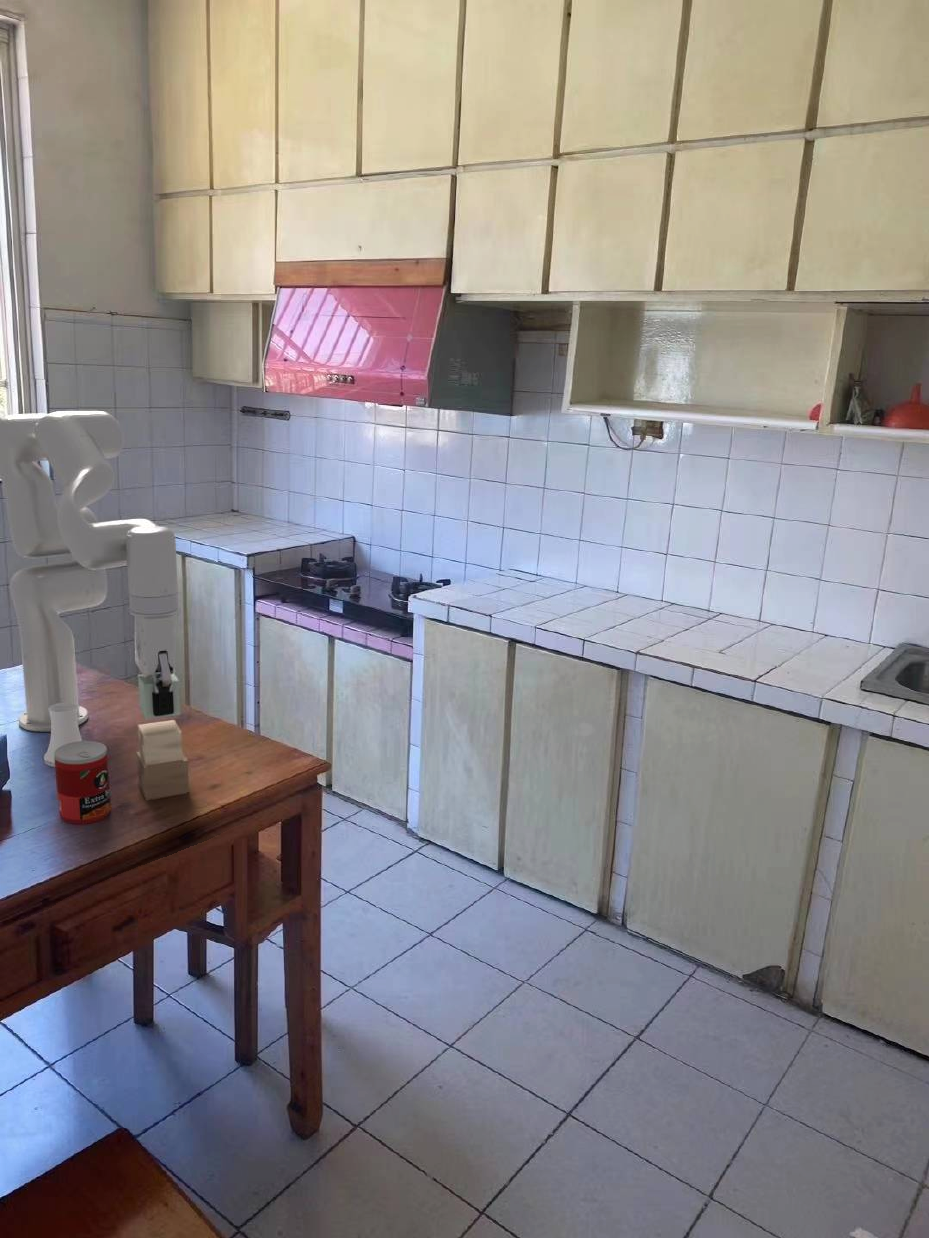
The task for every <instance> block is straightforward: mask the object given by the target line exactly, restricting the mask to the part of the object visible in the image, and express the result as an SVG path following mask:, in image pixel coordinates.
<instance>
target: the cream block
mask: <svg viewBox="0 0 929 1238" xmlns="http://www.w3.org/2000/svg"><path fill="white" fill-rule="evenodd" d="M182 754H183V760H179V761H173V762H166V763H160V764H153V765H147V766H146V765H145V763H144V761H143V759H142V757H141V755H140V752H139V751H136V767H137V783H138V786H139V788H140V790H141V792H142V794H143V796H144V799H145V798H146V799H145V800H146V801H150V799H151V800H156V799H162V798H165V797H167V798H168V797H172V796H178V795H185V794H188V793H187V792H189V793H190V787H189V786H190V785H189V783H190V782H189V764H188V763H189V760H188V758H187V757H186V756H185V754H184V752H183V751H182Z"/></svg>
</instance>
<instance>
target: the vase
mask: <svg viewBox="0 0 929 1238" xmlns="http://www.w3.org/2000/svg"><path fill="white" fill-rule="evenodd" d="M48 709H49V713H50V718H51V731H50V740H49V743H48V744H49V745H48V749H47V752H45V753H44V755H43V758H44V763H45V764H46V765H47V766H49V767H53V768H55V758H54V755H55V751H56V749H58V748H59V747H61V746H63V745H65V744H68V743H72V742H78V741H83V739H82V736H81V733H80V729H79V725H78V720H77V710H78V705H77V704H75V703H58V704H54V705H52V706H50V707H49V708H48Z"/></svg>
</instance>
